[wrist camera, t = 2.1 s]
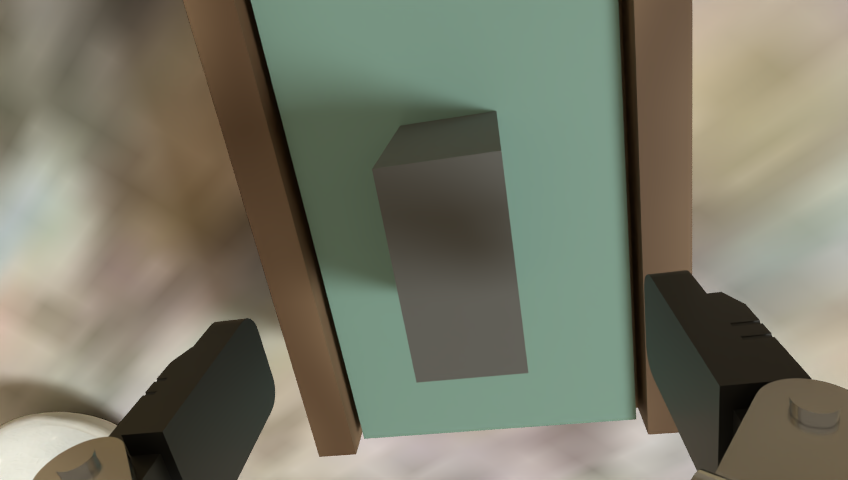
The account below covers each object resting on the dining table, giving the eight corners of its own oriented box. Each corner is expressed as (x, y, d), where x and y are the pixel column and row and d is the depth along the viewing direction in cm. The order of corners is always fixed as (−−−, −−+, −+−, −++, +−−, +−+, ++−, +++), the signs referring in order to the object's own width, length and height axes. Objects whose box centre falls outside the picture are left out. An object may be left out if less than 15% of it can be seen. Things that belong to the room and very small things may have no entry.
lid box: (615, -160, 21) (692, -251, 14) (634, 313, 29) (691, 431, 21) (258, -83, 23) (146, -123, 16) (360, 340, 31) (319, 456, 23)
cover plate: (604, -137, 16) (670, -209, 10) (629, 401, 22) (678, 534, 17) (246, -61, 17) (136, -89, 12) (368, 421, 24) (334, 548, 18)
